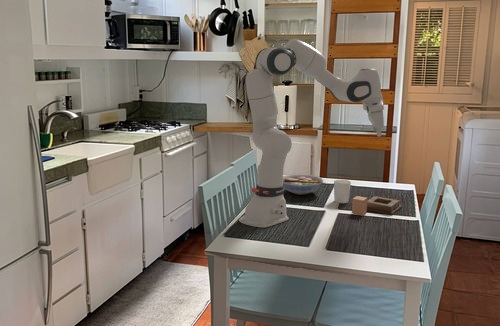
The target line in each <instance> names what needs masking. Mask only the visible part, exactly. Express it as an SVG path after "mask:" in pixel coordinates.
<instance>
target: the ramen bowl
mask: <svg viewBox="0 0 500 326" xmlns="http://www.w3.org/2000/svg"><path fill="white" fill-rule="evenodd" d="M324 181H325V180H324V179H323V177H320V176H316V175H312V174H303V173H302V174H301V173H297V174H296V173H294V174H286V175H285V174H284V175H283V185H284V190H286V191H288V192H290V193H293V194H294V195H298V196H305V195H308V194H311V193H314V192H316V191H317V190H318V189H319V188H320V187H321V186H322V185H323V184H324Z"/></svg>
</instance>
